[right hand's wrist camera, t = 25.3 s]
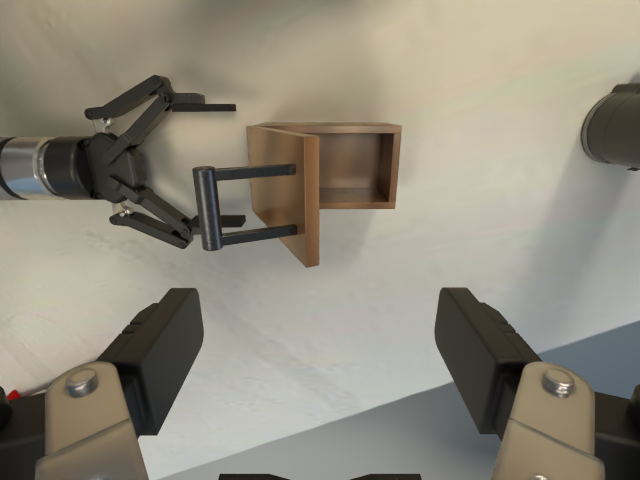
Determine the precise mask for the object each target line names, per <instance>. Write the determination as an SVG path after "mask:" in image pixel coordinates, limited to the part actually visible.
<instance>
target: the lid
mask: <svg viewBox="0 0 640 480" xmlns="http://www.w3.org/2000/svg"><path fill="white" fill-rule="evenodd" d="M247 141H248V154H249V167H234V168H218V169H215V168H214V167H211V166H202V167H195V168H193V177H194V185H195V192H196V200H197V208H198V215H199V223H200V230H201V238H202V245H203V249H204V250H206V251H216V250H219V249H221V248H223V246H224V245H231V244H238V243H245V242H251V241H258V240H265V239H272V238H279V239H280V240H281V241H282V242H283V243H284V245H285V246H286V247H287V248H288V249H289V250H290V251H291V252H292V253H293V254H294V255H295V256H296V257H297V258H298V259H299V260H300V262H301V263H302V264H303V265H304V266H305V267H312V266H317V265H319V136H315V135H309V134H302V133H296V132H290V131H284V130H278V129H272V128H265V127H259V126H247ZM246 178H250V182H251V195H252V209H253V212H254V213H255V214H256V215H257V216H258V217H259V218H260V219H261V220H262V221H263V222H264V223H265V224H266V225H267V227H268V228H260V229H253V230H245V231H238V232H231V233H223V234H222V228H221V219H220V209H219V200H218V191H217V182H216V181H220V180H233V179H246Z"/></svg>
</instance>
